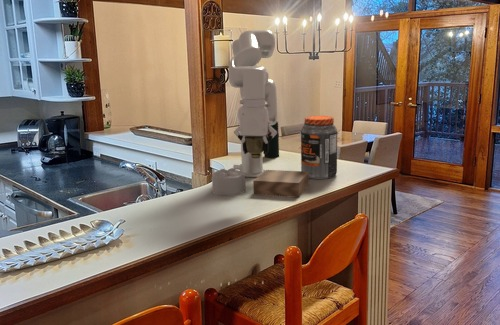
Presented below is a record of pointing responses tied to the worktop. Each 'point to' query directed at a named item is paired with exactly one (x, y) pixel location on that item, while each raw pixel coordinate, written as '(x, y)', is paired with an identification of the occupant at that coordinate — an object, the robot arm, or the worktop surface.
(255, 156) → the cup
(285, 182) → the walnut block
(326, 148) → the supplement tub
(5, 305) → the worktop surface
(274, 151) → the wine bottle
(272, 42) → the robot arm
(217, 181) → the grey studded block
